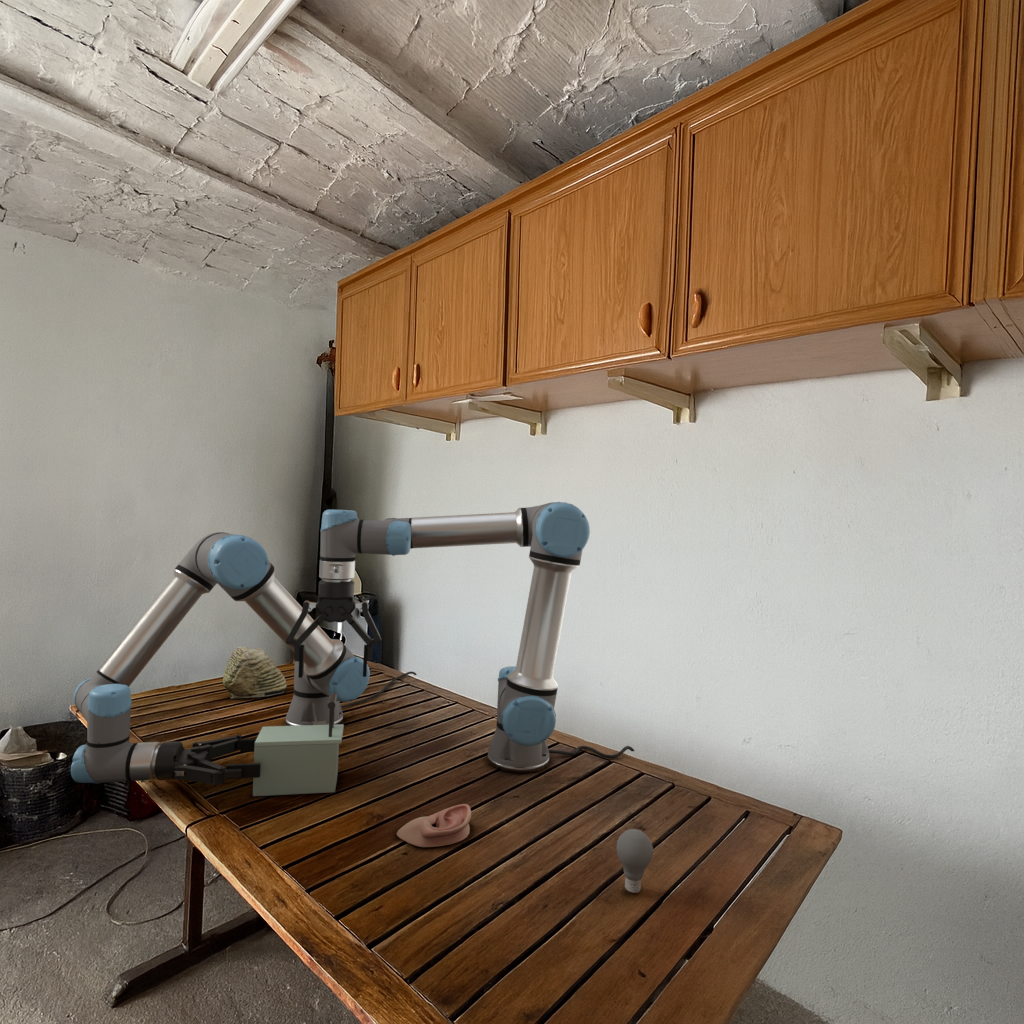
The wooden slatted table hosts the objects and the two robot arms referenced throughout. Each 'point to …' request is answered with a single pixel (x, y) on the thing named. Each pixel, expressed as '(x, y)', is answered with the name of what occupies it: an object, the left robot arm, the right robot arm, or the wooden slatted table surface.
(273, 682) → the fossil
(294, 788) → the chest
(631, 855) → the light bulb
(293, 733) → the lid
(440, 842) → the anatomical model
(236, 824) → the wooden slatted table surface
